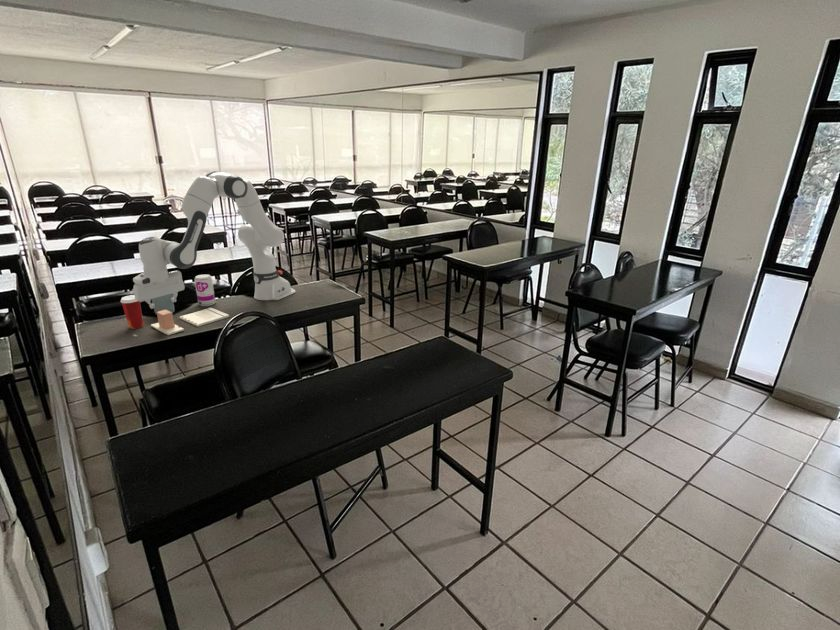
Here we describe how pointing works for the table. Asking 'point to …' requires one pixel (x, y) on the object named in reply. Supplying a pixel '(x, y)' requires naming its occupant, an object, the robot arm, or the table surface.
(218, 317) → the white flat square board
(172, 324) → the stub
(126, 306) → the paper cup
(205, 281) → the supplement can
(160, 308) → the drinking glass
